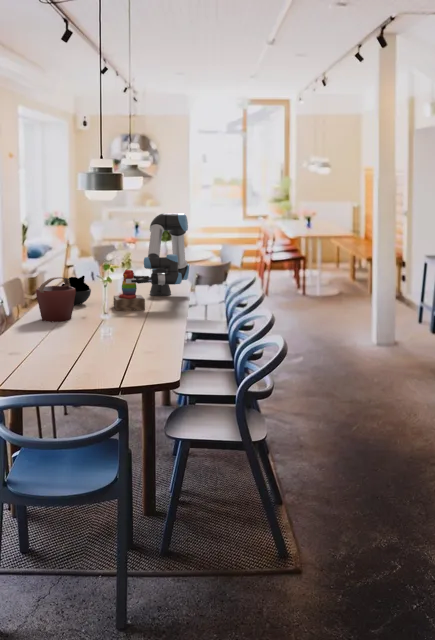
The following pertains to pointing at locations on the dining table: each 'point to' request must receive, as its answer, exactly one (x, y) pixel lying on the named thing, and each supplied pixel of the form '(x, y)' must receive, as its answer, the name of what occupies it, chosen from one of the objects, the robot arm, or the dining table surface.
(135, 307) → the walnut block
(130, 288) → the stacking bear
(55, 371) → the dining table surface
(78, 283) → the coal bowl
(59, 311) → the bucket
